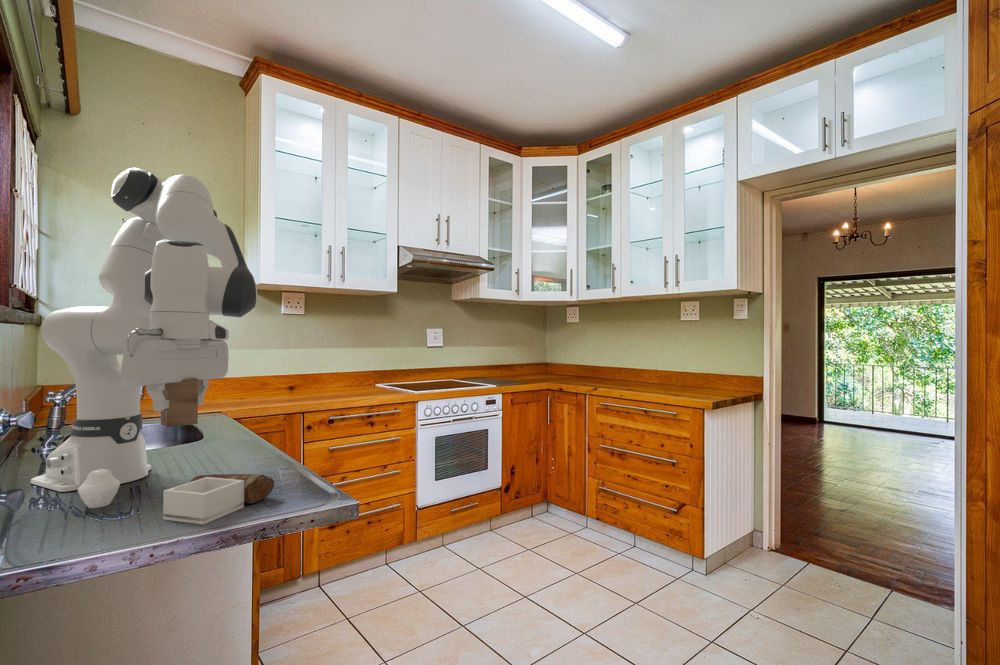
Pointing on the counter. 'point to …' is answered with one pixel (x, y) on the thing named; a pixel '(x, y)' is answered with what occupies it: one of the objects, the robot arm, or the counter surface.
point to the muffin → (99, 488)
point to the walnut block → (181, 403)
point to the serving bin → (203, 500)
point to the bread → (248, 485)
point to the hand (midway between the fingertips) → (179, 407)
